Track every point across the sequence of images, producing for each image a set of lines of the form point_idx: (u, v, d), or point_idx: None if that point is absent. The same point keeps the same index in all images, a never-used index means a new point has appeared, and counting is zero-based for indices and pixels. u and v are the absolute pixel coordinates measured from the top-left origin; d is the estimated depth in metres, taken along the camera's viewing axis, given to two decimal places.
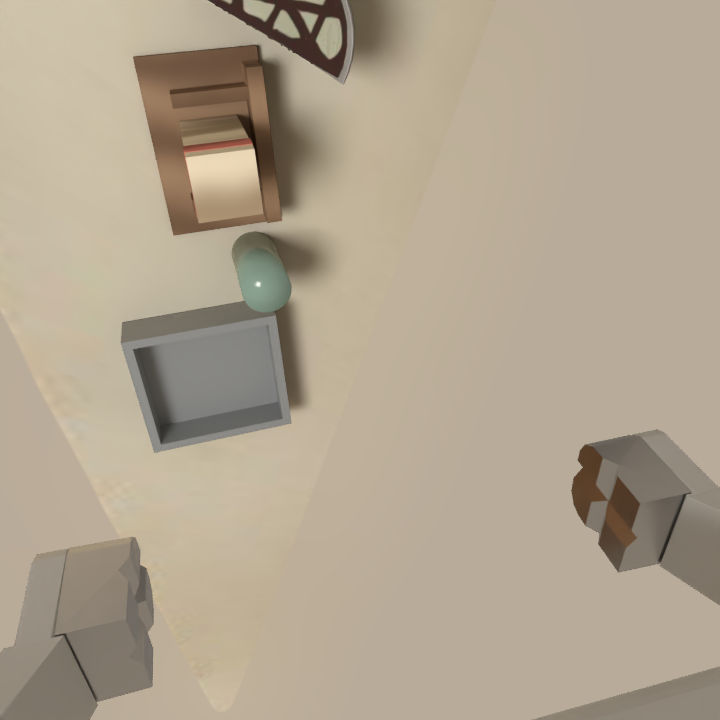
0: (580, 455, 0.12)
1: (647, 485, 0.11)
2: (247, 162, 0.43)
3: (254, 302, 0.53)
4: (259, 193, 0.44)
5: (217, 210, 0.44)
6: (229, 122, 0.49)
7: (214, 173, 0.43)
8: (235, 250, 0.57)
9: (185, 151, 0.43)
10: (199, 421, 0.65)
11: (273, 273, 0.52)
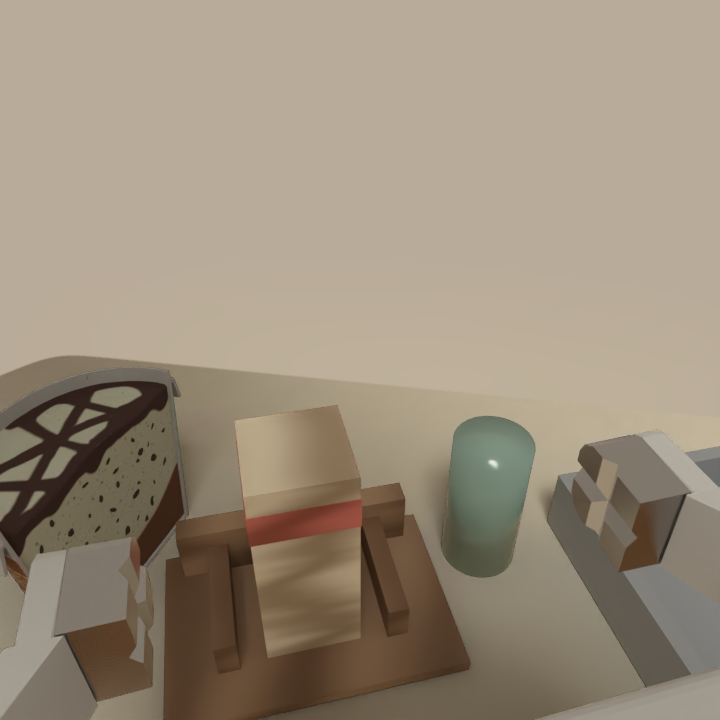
0: (580, 455, 0.12)
1: (647, 485, 0.11)
2: (255, 426, 0.27)
3: (520, 455, 0.31)
4: (304, 411, 0.28)
5: (335, 455, 0.26)
6: None
7: (271, 461, 0.26)
8: (472, 558, 0.34)
9: None
10: None
11: (462, 437, 0.32)
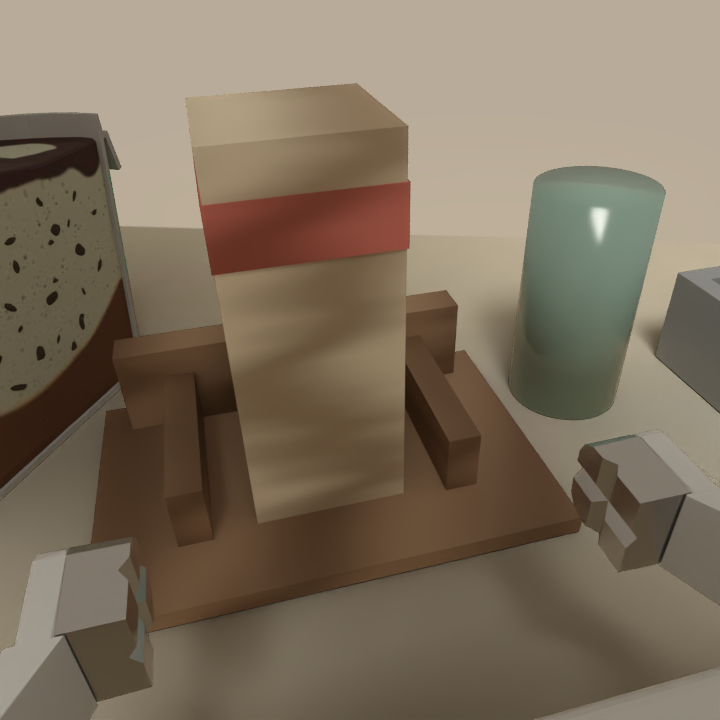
0: (580, 455, 0.12)
1: (647, 485, 0.11)
2: (219, 99, 0.16)
3: (643, 195, 0.20)
4: (303, 88, 0.17)
5: (359, 113, 0.15)
6: None
7: (246, 121, 0.14)
8: (562, 387, 0.23)
9: (201, 212, 0.14)
10: None
11: (546, 183, 0.21)
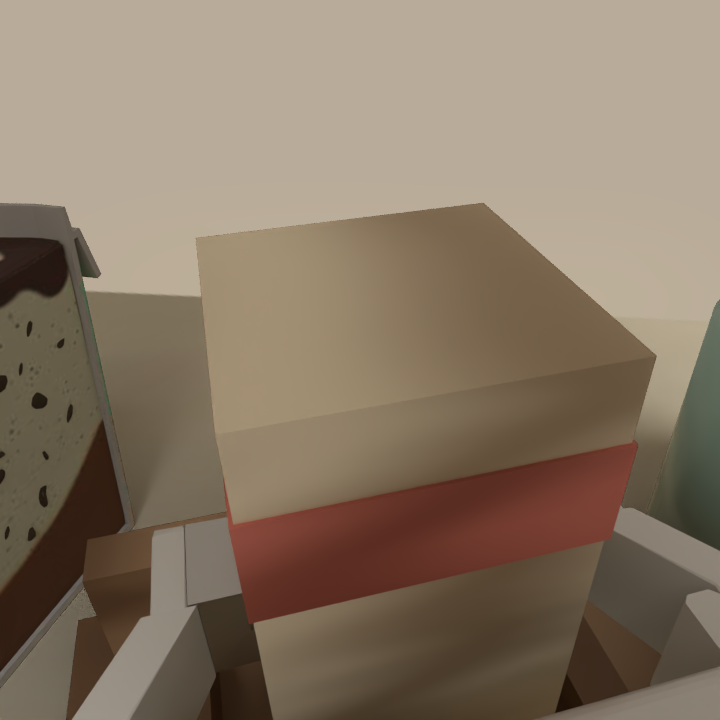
0: None
1: None
2: (257, 246, 0.09)
3: None
4: (396, 216, 0.10)
5: (531, 301, 0.08)
6: None
7: (317, 322, 0.07)
8: None
9: (232, 531, 0.07)
10: None
11: None
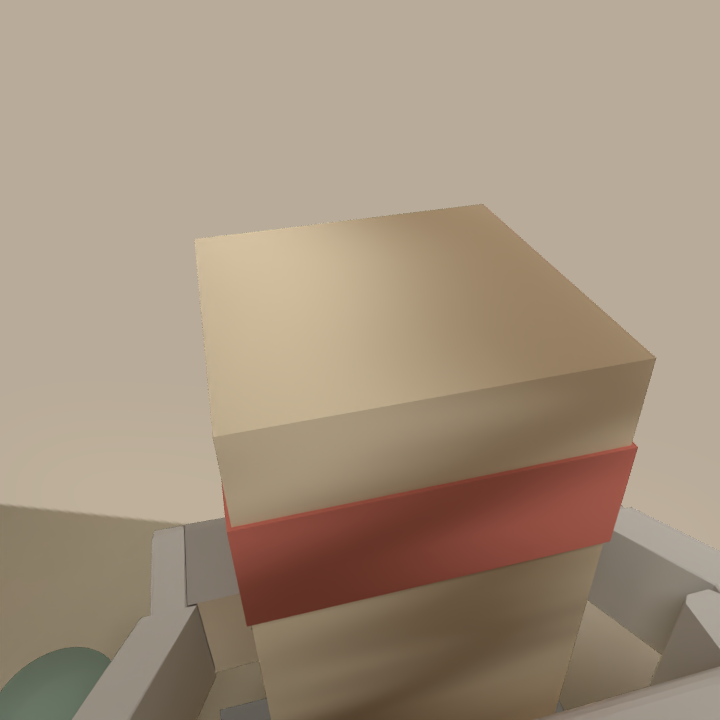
0: None
1: None
2: (255, 247, 0.09)
3: None
4: (395, 217, 0.10)
5: (530, 303, 0.08)
6: None
7: (315, 324, 0.07)
8: None
9: None
10: None
11: (11, 695, 0.21)
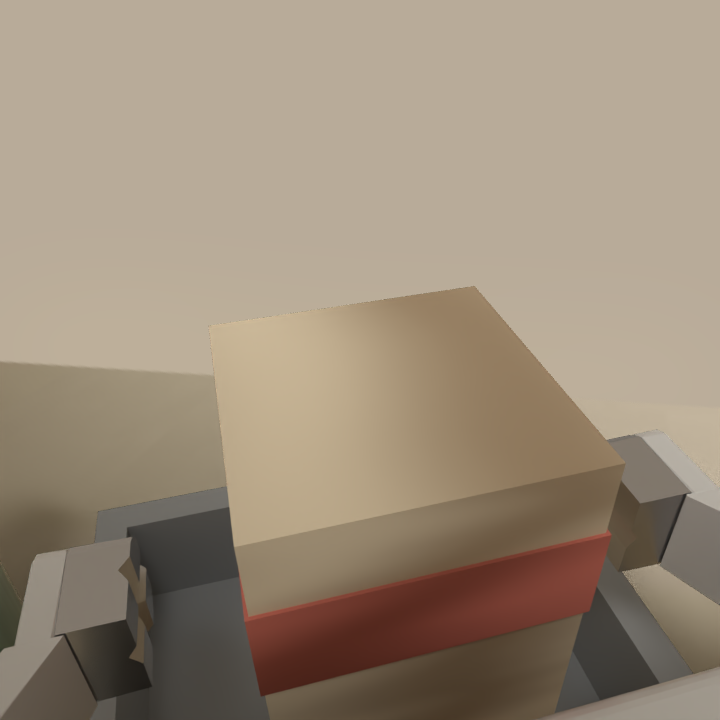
0: None
1: (647, 485, 0.11)
2: (265, 336, 0.10)
3: None
4: (393, 301, 0.11)
5: (515, 401, 0.08)
6: None
7: (322, 424, 0.08)
8: None
9: None
10: None
11: None
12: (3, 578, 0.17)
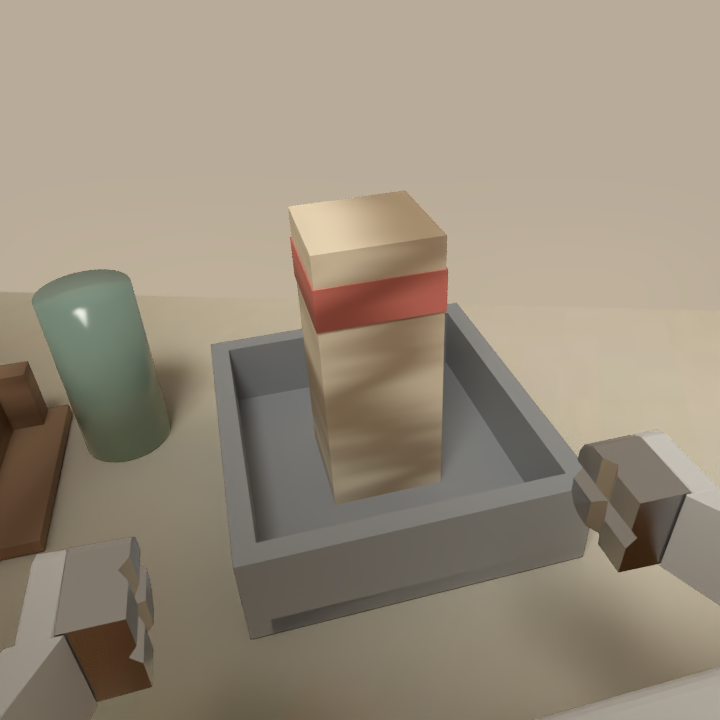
0: (580, 455, 0.12)
1: (647, 485, 0.11)
2: (312, 208, 0.23)
3: (101, 299, 0.27)
4: (368, 196, 0.24)
5: (412, 222, 0.22)
6: (312, 399, 0.28)
7: (337, 230, 0.22)
8: (95, 438, 0.29)
9: (312, 294, 0.21)
10: (513, 453, 0.27)
11: (50, 288, 0.28)
12: (158, 382, 0.31)
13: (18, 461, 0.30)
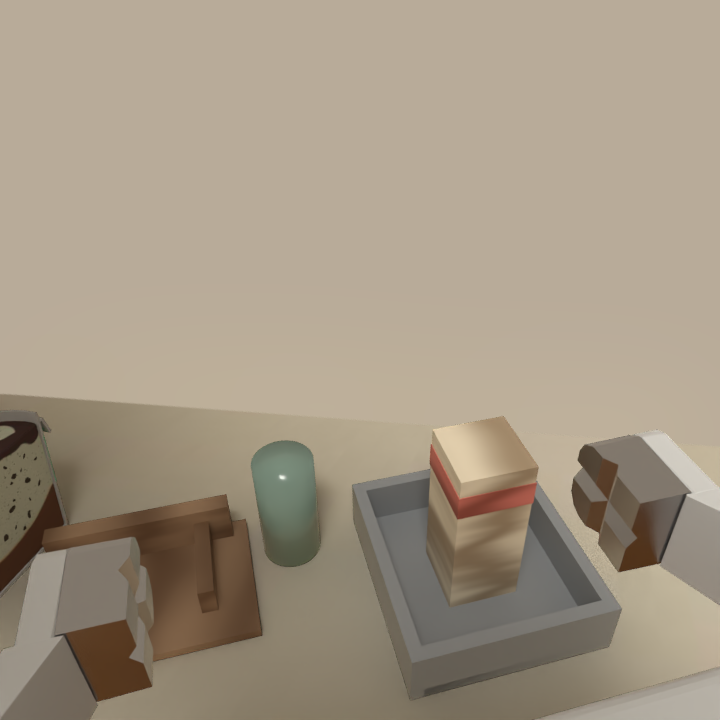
0: (580, 455, 0.12)
1: (647, 485, 0.11)
2: (449, 433, 0.38)
3: (298, 471, 0.41)
4: (481, 421, 0.38)
5: (515, 452, 0.36)
6: (431, 534, 0.42)
7: (471, 457, 0.36)
8: (278, 552, 0.44)
9: (458, 500, 0.35)
10: (562, 572, 0.42)
11: (259, 458, 0.42)
12: None
13: (225, 566, 0.44)
